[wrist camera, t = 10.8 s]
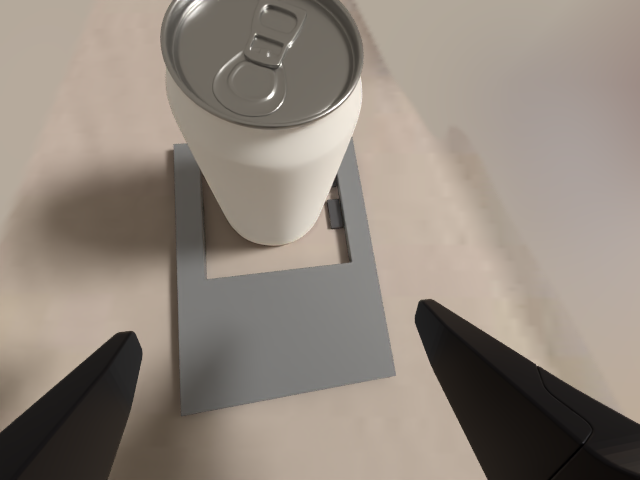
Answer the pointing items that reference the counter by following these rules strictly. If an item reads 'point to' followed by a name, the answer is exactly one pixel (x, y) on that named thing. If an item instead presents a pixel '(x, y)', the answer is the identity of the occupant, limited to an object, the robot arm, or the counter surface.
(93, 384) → the robot arm
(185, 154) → the board
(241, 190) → the can
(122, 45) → the counter surface
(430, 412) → the counter surface
